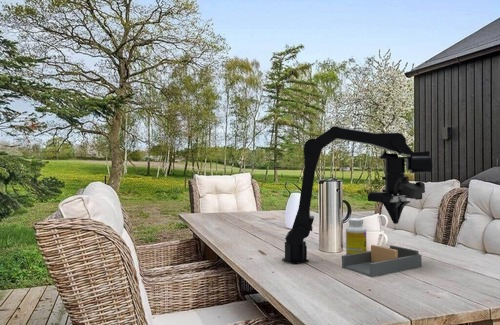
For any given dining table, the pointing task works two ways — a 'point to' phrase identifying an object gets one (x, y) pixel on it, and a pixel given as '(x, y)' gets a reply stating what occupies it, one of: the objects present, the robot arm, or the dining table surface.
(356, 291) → the dining table surface
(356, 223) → the supplement bottle
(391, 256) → the block
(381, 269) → the dark grey tray
